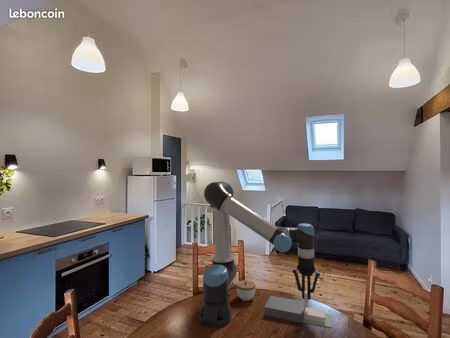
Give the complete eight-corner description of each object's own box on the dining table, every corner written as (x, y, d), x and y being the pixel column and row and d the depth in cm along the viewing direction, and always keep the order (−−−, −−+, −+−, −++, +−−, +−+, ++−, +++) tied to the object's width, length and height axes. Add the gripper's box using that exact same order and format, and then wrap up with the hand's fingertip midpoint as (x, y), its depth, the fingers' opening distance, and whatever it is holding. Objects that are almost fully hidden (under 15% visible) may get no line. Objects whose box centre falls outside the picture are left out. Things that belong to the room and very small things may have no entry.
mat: (303, 322, 121) (303, 321, 121) (305, 310, 131) (305, 310, 131) (331, 327, 116) (331, 327, 116) (331, 315, 126) (331, 314, 126)
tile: (304, 319, 123) (304, 313, 123) (305, 311, 129) (305, 306, 129) (324, 323, 119) (324, 317, 119) (325, 315, 126) (325, 310, 126)
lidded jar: (253, 304, 138) (253, 286, 138) (233, 301, 141) (233, 283, 142) (257, 295, 148) (257, 278, 149) (239, 292, 152) (239, 276, 152)
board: (264, 315, 127) (264, 306, 127) (270, 303, 139) (270, 295, 139) (303, 323, 120) (302, 314, 120) (305, 309, 132) (305, 301, 132)
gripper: (320, 255, 127) (321, 304, 127) (293, 252, 132) (293, 299, 132) (319, 260, 120) (320, 312, 120) (291, 257, 125) (291, 306, 125)
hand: (306, 305), depth 126 cm, fingers closed
